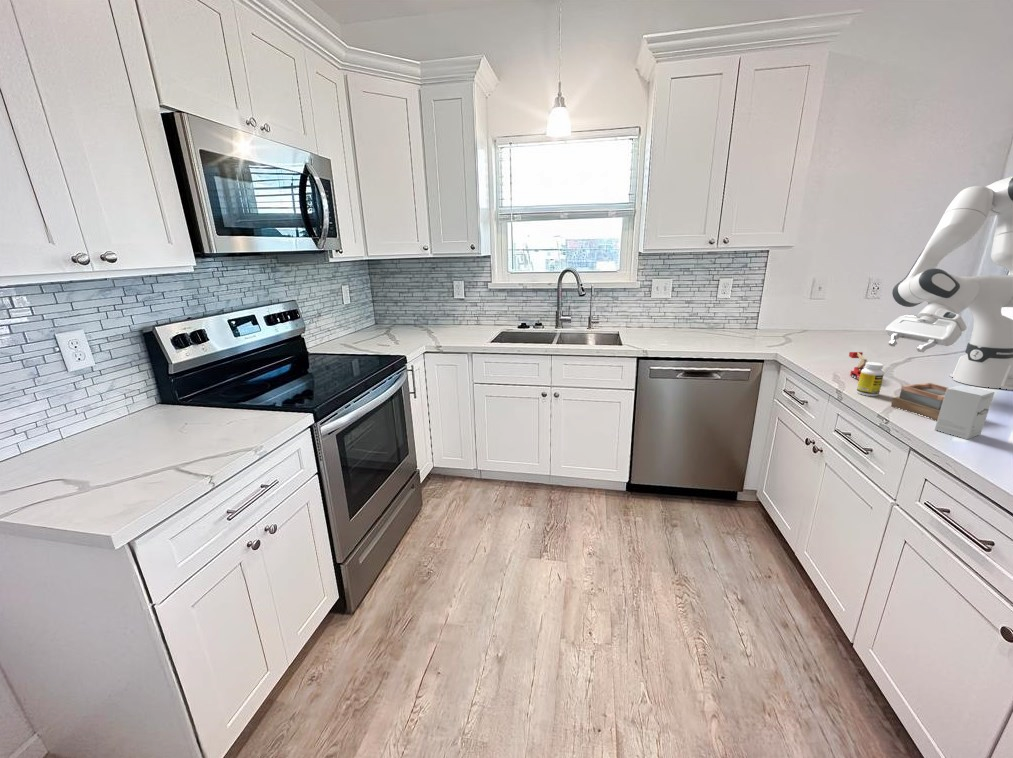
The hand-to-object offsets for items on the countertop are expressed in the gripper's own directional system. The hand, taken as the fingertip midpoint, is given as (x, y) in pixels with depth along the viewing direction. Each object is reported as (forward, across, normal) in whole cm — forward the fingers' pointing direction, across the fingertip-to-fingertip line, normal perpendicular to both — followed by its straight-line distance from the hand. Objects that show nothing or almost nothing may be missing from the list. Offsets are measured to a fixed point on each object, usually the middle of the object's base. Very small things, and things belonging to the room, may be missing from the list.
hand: (904, 347), depth 152 cm
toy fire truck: (+10, -15, +12) cm, 22 cm away
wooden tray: (+18, +18, +4) cm, 26 cm away
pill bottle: (+20, 0, +3) cm, 20 cm away
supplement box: (+25, +32, -3) cm, 41 cm away
